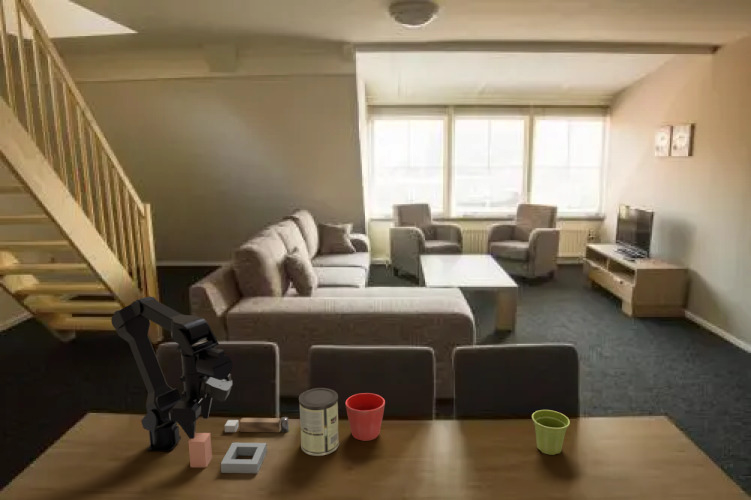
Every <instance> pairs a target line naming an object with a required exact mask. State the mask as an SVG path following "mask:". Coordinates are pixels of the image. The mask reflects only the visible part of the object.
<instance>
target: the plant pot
mask: <svg viewBox="0 0 751 500" xmlns="http://www.w3.org/2000/svg"><path fill="white" fill-rule="evenodd" d="M531 419H532V421H533V425H534V430H535V438H536V439H535V441H536V448H537V449H538V450H539V451H540V452H542V454H546V455H549V456H550V455H551V456H554V455H556V454H561V453H562V448H563V444H564V440H565V439H564V438H565V436H566V431H567V429H568V428H569V426H570V423H571V422H570V419H569V417H568V416H566V415H565V414H563V413H561V412H558V411H555V410H551V409H540V410H535V412H533V413H532V414H531Z"/></svg>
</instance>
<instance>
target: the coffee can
mask: <svg viewBox="0 0 751 500" xmlns="http://www.w3.org/2000/svg"><path fill="white" fill-rule="evenodd" d="M338 400H339V395H338V392H336V391H335V390H333V389H331V388H326V387H316V388H311V389H308V390H305V391H303V392H302V393H300V394H299V397H298V403H299V422H300V447H301V451H302V452H304V453H305V454H307V455H309V456H313V457H314V456H316V457H321V456H325V455H326V456H327V455H330V454H331V453H334V452H335V451H336V450H337V449H338V447H339V445H340V442H339V404H338V403H339V402H338Z"/></svg>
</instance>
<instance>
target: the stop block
mask: <svg viewBox="0 0 751 500" xmlns="http://www.w3.org/2000/svg"><path fill="white" fill-rule="evenodd" d="M239 428H240V421H239V420H238V419H228V420H227V421H226V422H225V424H224V433H236V432H237V430H238V429H239Z"/></svg>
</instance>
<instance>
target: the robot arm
mask: <svg viewBox="0 0 751 500" xmlns="http://www.w3.org/2000/svg"><path fill="white" fill-rule="evenodd" d="M110 322H111V325H112V327H113V328H114V329H115V332H116V333H117V336H118V337H120V338H121V339H123V340H124V341H125V342H127V343H128V345H129V347H130V351H131V353H132V354H133V358H134V360H135V362H136V365H137V368H138V371H139V373H140V376H141V378H142V380H143V383H144V386H145V388H146V391H147V396H146V397H147V398H146V404H145V408H146V412H147V413H146V414H145V415H144V416H143V417H142V419H141V425H142V428H143V429H144V430H147V431H148V434H149V444H150V445H149V446H148V447H147V451H148V452H150V451H151V452H171V451H172V450H173V449H174V448H175V446H176V445H177V444H178V443H179V442H180V440H181V438H182V436H181V435H180V428H182V430H183V431H184V433H185V434H186V436H187V437H188V438H189V440H190V439H194V437H195V433H196V428H197V427H196V425H197V420H198V419H199V418H200V416H201V415H202V416H201V417H202V418H203V419H205V420H207V419H208V418H209V417H210V415H209V414H210V412H211V407H212V403H213V402H212V401H213V399H215V400H217V401H218V402H225V401H226V400H227V398H228V397H229V395H230V394H231V393H230V392H231V390H232V387H233V386H234V383H233V379H232V374H231V372H232V370H233V361H232V358H231V357H230V356H228V355H226V352H225V350H224V349H217V348H216V347H218V346H220V345H219V341H218V340H217V335H216V334H215V333H214V332H213V330H212V328H211V326H210V325H209V323H208V322H207V320H206V319H204V317H200V316H198V315H192V314H189V315H188V314H182V313H180V312H178V311H176V310H174V309H173V308H171V307H170V306H167V305H165V304H163V303H162V302H160V301H158V300H157V298H156V297H154V296H147V297H143V298H138V299H135V300H134V301H132V302H131V303H130V304H129V305H126V306H125V307H123V308H121V309H118V310H115V311H114V313H113V315H112V316H111V321H110ZM151 322H152V323H154V324H156V325H158V326H159V327H161V328H163V329H164V330H167V332H169V333H170V335H171V339H172V340H173V341H174V342H175V343H176V344H178V345H177V346H176V347H175V349H174V350H176V351H177V352H179V353H180V354H181V355H180V357H181V365H182V366H181V368H182V371H181V372H182V375H180V377H179V382H181V383H182V382H183V391H182V392H181V393H180V390H179V389H178V388H172V387H171V386H170V385H168V383H167V381H166V378H165V375H164V373H163V370H162V368H161V365H160V362H159V360H158V358H157V355H156V353H155V351H154V347H153V345H152V342H151V340H150V337H149V331H150V326H151ZM206 340H207V341H206ZM203 341H204V342H203ZM201 342H202V343H201ZM198 343H199V344H198ZM183 398H186V399H187V400H188V401H184V400H183ZM178 425H179V426H178Z"/></svg>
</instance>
